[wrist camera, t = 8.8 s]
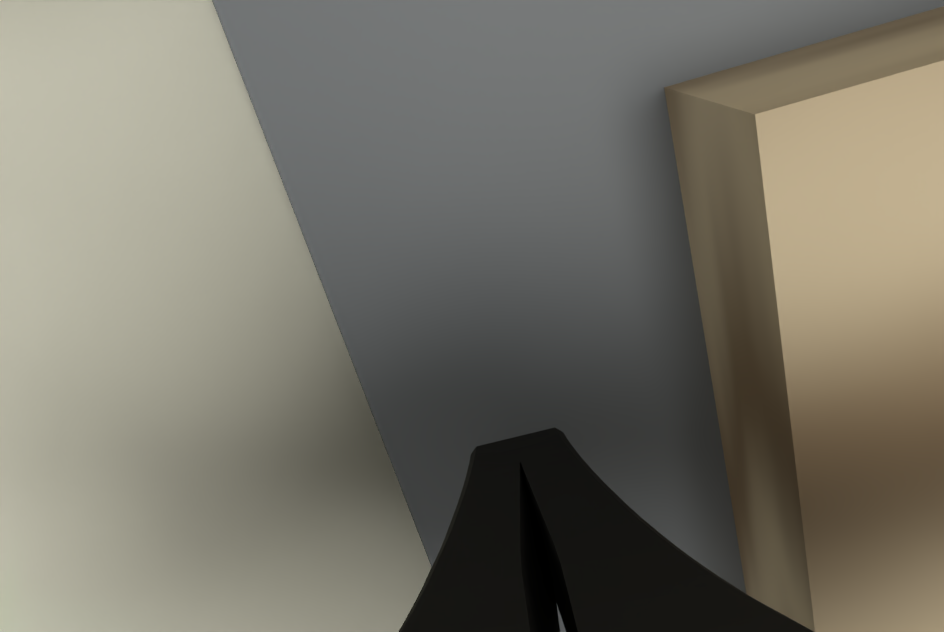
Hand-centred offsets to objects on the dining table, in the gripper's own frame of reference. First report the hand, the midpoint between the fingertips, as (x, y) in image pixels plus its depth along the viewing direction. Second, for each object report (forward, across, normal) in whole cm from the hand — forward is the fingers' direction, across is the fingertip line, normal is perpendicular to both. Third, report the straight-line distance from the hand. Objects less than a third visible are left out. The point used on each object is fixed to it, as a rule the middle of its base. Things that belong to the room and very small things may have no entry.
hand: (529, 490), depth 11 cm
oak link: (+1, -6, +2) cm, 6 cm away
